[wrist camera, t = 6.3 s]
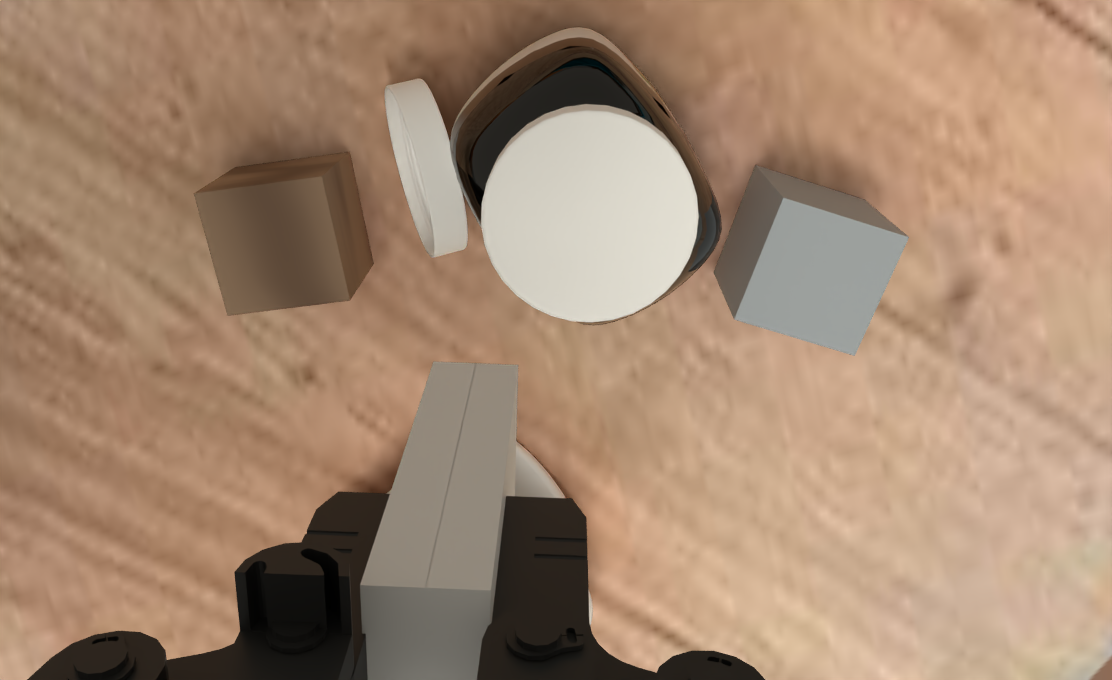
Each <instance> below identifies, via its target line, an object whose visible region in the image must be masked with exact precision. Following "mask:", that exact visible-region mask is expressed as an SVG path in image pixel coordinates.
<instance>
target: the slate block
mask: <svg viewBox="0 0 1112 680" xmlns="http://www.w3.org/2000/svg"><path fill="white" fill-rule="evenodd" d="M908 238H909V237H908V236H907V235H906V234H905V233H903V232H902V231H901V230H900V229H899V228H898V227H896V226H895V225H894V224H893V223H892V222H890V221H889V220H888V219H887V218H886V217H885V216H883V215H882V214H881V213H880V212H879V211H878V210H876V209H875V208H874V207H873V206H872V205H870V204H869V203H868V202H867V201H866V200H864V199H861V198H858V197H855V196H852V195H849V194H845V193H842V192H839V191H836V190H833V189H830V188H827V187H823V186H820V185H817V184H814V183H811V182H808V181H804V180H801V179H798V178H795V177H792V176H789V175H786V174H782V173H779V172H776V171H773V170H770V169H767V168H764V167H760V166H757V165H755V167H754V170H753V172H752V175H751V177H750V180H749V183H748V185H747V188H746V190H745V193H744V195H743V198H742V201H741V203H740V206H739V208H738V211H737V214H736V216H735V219H734V221H733V224H732V226H731V229H730V232H729V234H728V237H727V239H726V242H725V245H724V247H723V250H722V252H721V255H720V257H719V260H718V263H717V265H716V268H715V270H714V274H715V277H716V279H717V281H718V284H719V286H720V288H721V290H722V293H723V295H724V297H725V300H726V302H727V304H728V306H729V309H730V311H731V313H732V316H733V318H734V320H737V321H741V322H744V323H747V324H751V325H754V326H757V327H761V328H764V329H767V330H771V331H774V332H777V333H781V334H784V335H787V336H791V337H794V338H797V339H801V340H804V341H807V342H810V343H814V344H817V345H820V346H824V347H827V348H830V349H834V350H837V351H840V352H844V353H847V354H850V355H854V356H855V354H856V352H857V350H858V347H859V345H860V343H861V341H862V339H863V336H864V334H865V332H866V330H867V328H868V326H869V323H870V321H871V319H872V317H873V315H874V312H875V310H876V308H877V306H878V304H879V302H880V299H881V297H882V295H883V293H884V291H885V289H886V286H887V284H888V282H889V280H890V278H891V275H892V273H893V271H894V269H895V267H896V265H897V262H898V260H899V258H900V256H901V254H902V252H903V249H904V247H905V245H906V243H907V241H908Z"/></svg>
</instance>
